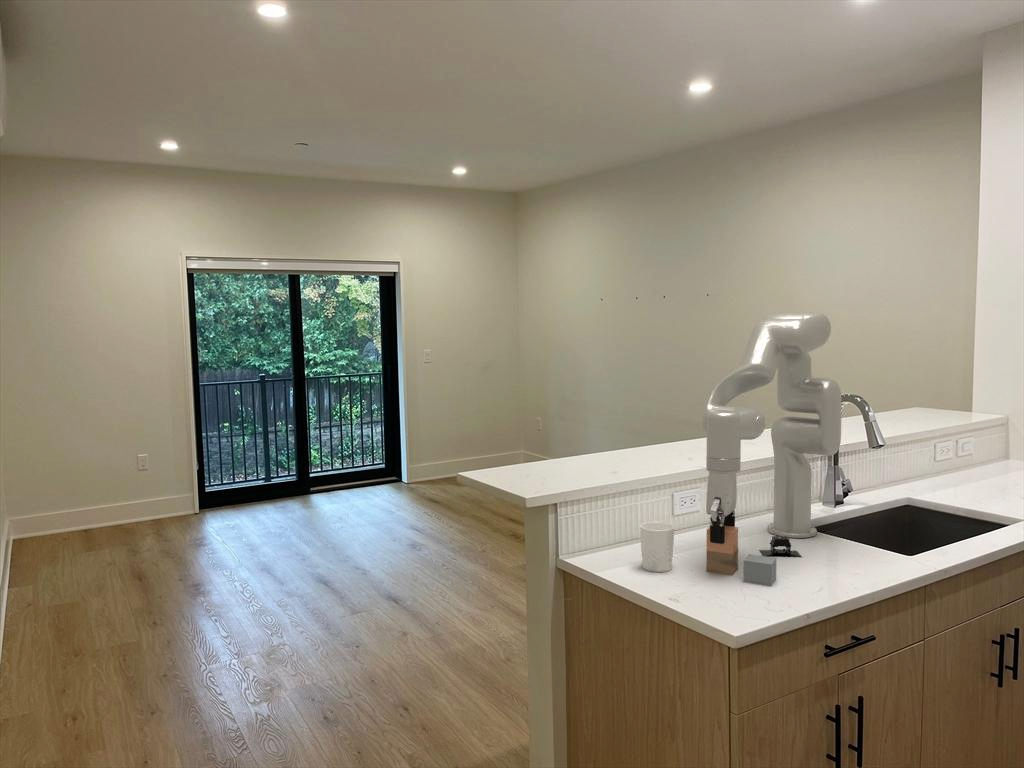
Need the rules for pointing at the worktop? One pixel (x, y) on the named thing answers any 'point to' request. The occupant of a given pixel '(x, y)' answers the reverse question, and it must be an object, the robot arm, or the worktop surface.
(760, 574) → the slate grey block
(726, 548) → the terracotta block
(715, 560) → the walnut block
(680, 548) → the worktop surface
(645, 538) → the white cup
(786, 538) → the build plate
